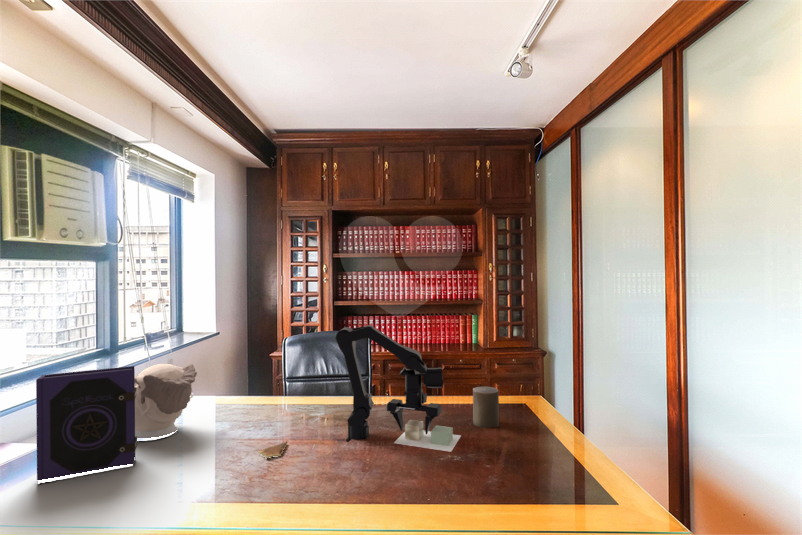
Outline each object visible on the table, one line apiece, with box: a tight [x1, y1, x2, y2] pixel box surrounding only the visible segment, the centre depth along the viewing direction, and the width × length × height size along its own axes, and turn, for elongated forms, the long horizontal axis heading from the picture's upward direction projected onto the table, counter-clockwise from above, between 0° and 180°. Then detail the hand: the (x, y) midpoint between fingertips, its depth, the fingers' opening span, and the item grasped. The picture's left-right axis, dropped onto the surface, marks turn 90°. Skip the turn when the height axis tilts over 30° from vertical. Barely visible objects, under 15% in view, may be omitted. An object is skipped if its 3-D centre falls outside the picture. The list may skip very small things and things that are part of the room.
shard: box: [257, 441, 288, 458], centre depth 138 cm, size 11×8×2 cm
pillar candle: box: [472, 386, 500, 429], centre depth 160 cm, size 10×10×15 cm
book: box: [35, 365, 138, 481], centre depth 127 cm, size 24×6×30 cm, turn 117°
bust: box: [135, 363, 198, 438], centre depth 156 cm, size 26×20×30 cm
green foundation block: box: [431, 425, 454, 446], centre depth 143 cm, size 6×6×4 cm
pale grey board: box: [393, 429, 462, 453], centre depth 145 cm, size 20×14×1 cm
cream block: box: [404, 419, 424, 441], centre depth 147 cm, size 5×5×5 cm
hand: (414, 432), depth 147 cm, fingers open, 9 cm apart
